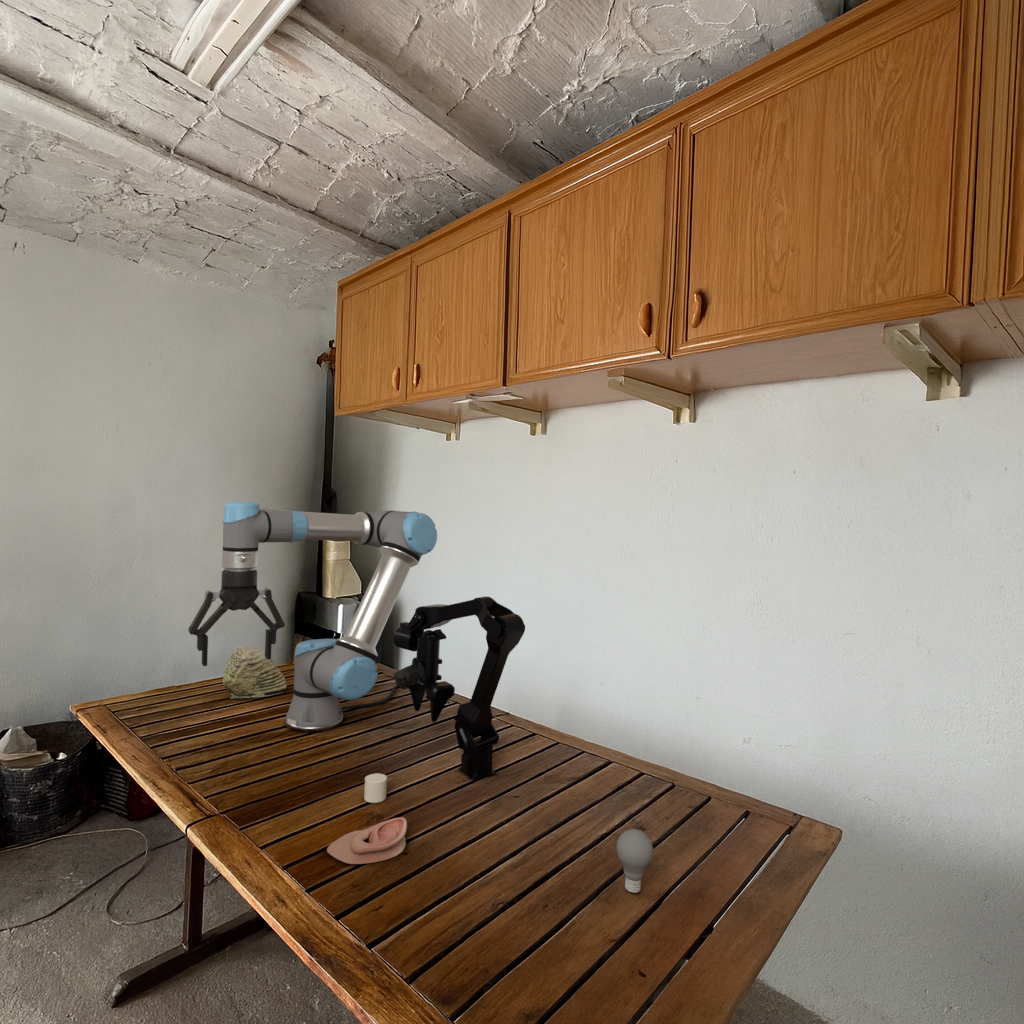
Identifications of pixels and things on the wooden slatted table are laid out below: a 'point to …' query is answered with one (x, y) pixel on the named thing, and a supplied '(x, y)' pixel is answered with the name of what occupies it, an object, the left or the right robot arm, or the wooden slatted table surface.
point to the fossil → (252, 675)
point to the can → (375, 788)
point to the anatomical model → (371, 843)
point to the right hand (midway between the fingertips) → (425, 716)
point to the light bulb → (634, 857)
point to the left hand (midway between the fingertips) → (236, 661)
